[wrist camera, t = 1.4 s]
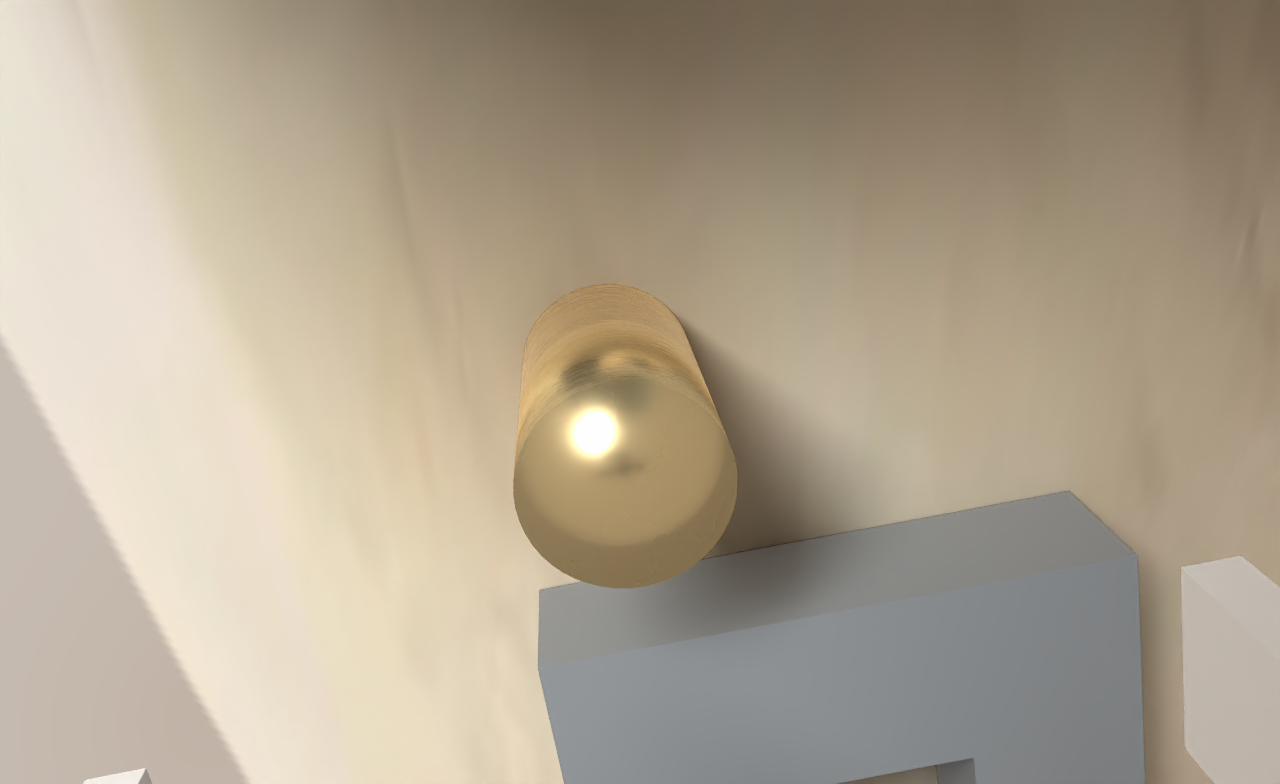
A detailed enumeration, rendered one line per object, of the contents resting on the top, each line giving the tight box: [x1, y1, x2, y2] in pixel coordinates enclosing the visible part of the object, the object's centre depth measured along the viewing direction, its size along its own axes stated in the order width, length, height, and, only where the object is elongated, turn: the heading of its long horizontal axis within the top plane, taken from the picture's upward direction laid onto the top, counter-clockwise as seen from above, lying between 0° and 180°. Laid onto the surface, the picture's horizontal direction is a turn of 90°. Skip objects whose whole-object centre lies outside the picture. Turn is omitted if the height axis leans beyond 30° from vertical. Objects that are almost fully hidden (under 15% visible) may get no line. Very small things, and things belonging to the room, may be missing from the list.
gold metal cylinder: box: [514, 284, 738, 588], centre depth 26 cm, size 4×4×8 cm
